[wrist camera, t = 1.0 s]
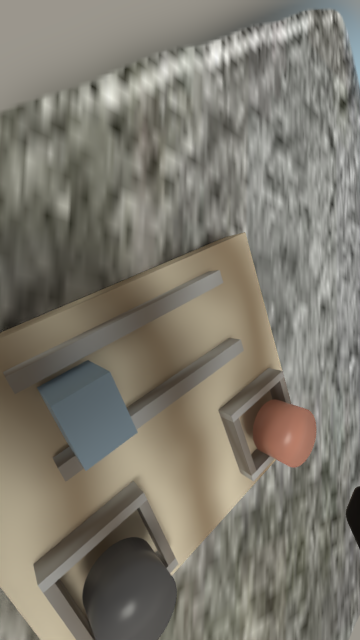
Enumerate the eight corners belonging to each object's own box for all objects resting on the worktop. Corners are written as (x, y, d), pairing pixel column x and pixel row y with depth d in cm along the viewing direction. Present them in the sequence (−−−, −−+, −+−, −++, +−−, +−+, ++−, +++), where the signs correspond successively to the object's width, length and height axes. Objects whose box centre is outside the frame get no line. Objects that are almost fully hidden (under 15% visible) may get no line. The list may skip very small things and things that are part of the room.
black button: (101, 634, 14) (120, 684, 12) (68, 584, 13) (84, 630, 11) (162, 569, 16) (186, 604, 14) (137, 521, 15) (160, 552, 13)
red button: (260, 463, 20) (289, 479, 18) (246, 420, 19) (275, 432, 17) (291, 430, 22) (320, 442, 20) (280, 389, 21) (309, 397, 19)
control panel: (64, 645, 16) (81, 711, 14) (-126, 386, 12) (-155, 411, 9) (278, 426, 26) (312, 439, 24) (224, 237, 21) (259, 228, 19)
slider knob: (66, 442, 14) (85, 471, 11) (36, 387, 13) (50, 406, 10) (112, 412, 15) (137, 432, 12) (87, 360, 14) (109, 371, 12)
